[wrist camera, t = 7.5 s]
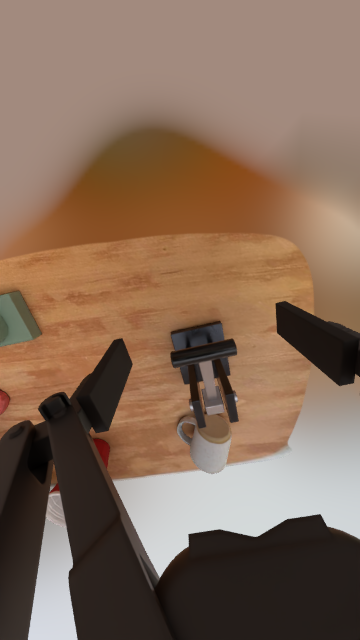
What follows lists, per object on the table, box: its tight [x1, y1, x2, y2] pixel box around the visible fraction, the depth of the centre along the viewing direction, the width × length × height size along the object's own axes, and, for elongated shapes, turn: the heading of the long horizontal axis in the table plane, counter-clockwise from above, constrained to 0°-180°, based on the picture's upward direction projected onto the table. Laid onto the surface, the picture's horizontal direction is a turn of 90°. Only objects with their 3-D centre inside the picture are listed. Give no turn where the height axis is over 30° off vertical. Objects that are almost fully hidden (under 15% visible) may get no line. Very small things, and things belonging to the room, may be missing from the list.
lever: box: [170, 339, 237, 415], centre depth 20 cm, size 13×6×2 cm, turn 13°
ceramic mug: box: [177, 414, 231, 474], centre depth 38 cm, size 11×8×8 cm
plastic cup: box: [46, 439, 110, 528], centre depth 38 cm, size 11×11×12 cm
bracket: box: [171, 321, 239, 429], centre depth 29 cm, size 11×9×14 cm
